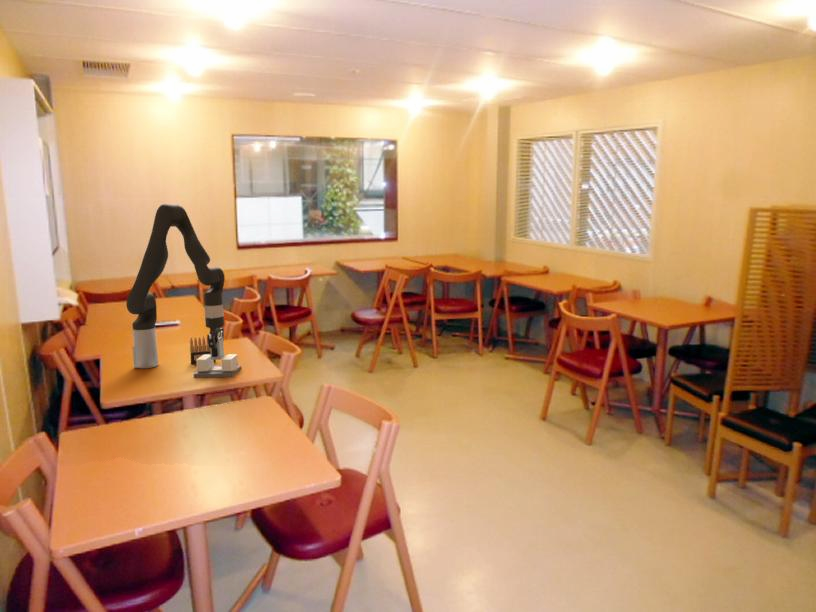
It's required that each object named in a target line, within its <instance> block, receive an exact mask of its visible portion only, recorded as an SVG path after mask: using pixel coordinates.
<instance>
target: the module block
mask: <svg viewBox="0 0 816 612" xmlns="http://www.w3.org/2000/svg"><path fill="white" fill-rule="evenodd" d="M217 351H218V356H217V357H212V348H210V354H211V360H216V361H221V359H223V358H224V357H225V348H224V342H223V338H222V339H219V341H218V343H217Z"/></svg>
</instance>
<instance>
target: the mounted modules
mask: <svg viewBox="0 0 816 612" xmlns="http://www.w3.org/2000/svg"><path fill="white" fill-rule="evenodd" d="M220 361H221V362H220V363H221V366H222V371H232V370H233V369H235V368H236V367H237V366H239V359H238V353H237V354H236V353H232V354H231V353H229V354H227V355H224V357H223V358H222V359H221V360H220ZM196 363H197V364H196V372H197V371H208V370H209V369H210V368H212V367H213V366H215V364H214V363H215V362H214V360H211V354H204V355H202V356H201V357H199V358H198V359H196Z"/></svg>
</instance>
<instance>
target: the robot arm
mask: <svg viewBox="0 0 816 612" xmlns="http://www.w3.org/2000/svg"><path fill="white" fill-rule="evenodd" d="M171 227H176V228H177V229H178V230H179V232H180V233H181V235H182V238H183V244H184V250H185V253H186V255H187V257H188V258H189V260H190V261H191V262H192V264H193V266H194V267H193V268H194V270H195V274H196V276H197V279H198V281H199V282H200V283H201V284H202V285H203V286H208V287H209V286H210V287H209V289H208V290H207V291H205V292H204V296H203V298H204V319H205V320H204V322H205V327H206V328H207V329H209V334H206V335H207V336H206V339H207V338H208V344H209V348H212V357H217V356H218V351H217V343H218V341H219V339H222V338H223V343H224V340H225V338H224V337H225V335H224V334H225V329H224V328H223V327H225V314H224V305H223V295H222V294H223V291H224V285H225V279H226V278H225V272H224V271H223V269H222V268H221V267H217V266H215V267H214V266H213V267H208V265H209V264H210V262H211V258H210V256H209V254H208V252H207V251H206V249H205V248H204V246H203V245H202V243H201V241H200V240H199V238H198V236H197V234H196V231H195V229H194V226H193V225H192V222H191V220H190V218H189V216H188V213H187V211H186V210H185V208H184V207H183V206H181V205H179V204H171V203H170V204H169V203H164V204H160V206H158V207H157V210H156V212H155V216H154V220H153V226H152V230H151V233H150V237H149V240H148V244H147V247H146V249H145V253H144V254H143V258H142V261H141V264H140V267H139V271H138V272H137V275H136V278H135V281H134V283H133V286H132V288H131V289H130V291H129V294H128V296H127V298H126V302H125V303H126V304H125V305H126V309H127V311H128V312H129V313H130V314H132V315H137V318H136V319H135V320H134V321H133V322H132V333H133V334H132V335H133V336H132V337H133V346H132V356H133V358H132V359H133V368H136V369H149V368H150V369H151V368H152V369H153V368H155V367H158V366H159V365H160V364H159V354H158V342H157V330H156V323H157V319H158V318H157V317H158V316H157V312H158V310H157V301H156V297H155V296H154V293H152V292H150V289H151V288H152V285H153V284H154V283H155V282H156V281H157V280H158V278H159V277H160V276H161V275H162V273H163V272H164V269H165V267H166V264H167V262H168V258H169V251H168V245H167V237H168V234H169V231H170V228H171Z"/></svg>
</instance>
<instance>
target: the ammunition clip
mask: <svg viewBox="0 0 816 612" xmlns="http://www.w3.org/2000/svg"><path fill="white" fill-rule="evenodd" d="M189 352H190V364H191V365H197V363H196V359H198V358H199V357H201V356H202V355H204V354H210V348H209V344H208V338H207V337H206V338H205V336H203V337H202V340H201V337H200V336H199V337H198V340H197V337H194V341H193V338H192V337H190V340H189ZM216 362H217V360H214V363H216Z"/></svg>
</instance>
